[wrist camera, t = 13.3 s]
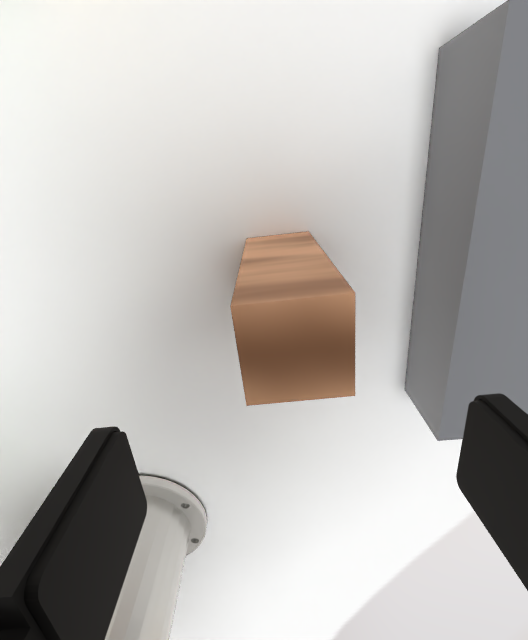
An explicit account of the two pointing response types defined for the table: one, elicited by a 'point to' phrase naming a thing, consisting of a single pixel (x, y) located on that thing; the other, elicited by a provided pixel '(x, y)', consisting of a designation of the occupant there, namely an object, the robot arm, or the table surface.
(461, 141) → the grey block with hole
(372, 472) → the table surface
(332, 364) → the wooden block
